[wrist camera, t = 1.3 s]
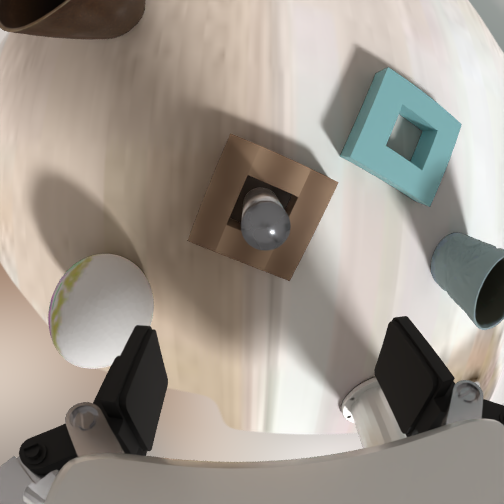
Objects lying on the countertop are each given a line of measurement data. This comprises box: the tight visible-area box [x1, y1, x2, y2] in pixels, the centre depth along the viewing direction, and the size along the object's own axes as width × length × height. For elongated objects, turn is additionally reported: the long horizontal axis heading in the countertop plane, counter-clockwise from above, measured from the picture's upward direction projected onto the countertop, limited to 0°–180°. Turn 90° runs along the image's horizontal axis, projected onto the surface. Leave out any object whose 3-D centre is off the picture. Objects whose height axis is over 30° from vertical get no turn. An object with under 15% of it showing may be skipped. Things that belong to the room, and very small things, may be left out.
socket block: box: [340, 67, 462, 207], centre depth 28 cm, size 12×12×4 cm
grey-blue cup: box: [431, 233, 504, 330], centre depth 30 cm, size 10×10×12 cm
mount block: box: [188, 134, 338, 281], centre depth 31 cm, size 12×12×4 cm
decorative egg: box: [49, 254, 154, 368], centre depth 29 cm, size 12×12×15 cm
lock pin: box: [241, 187, 291, 251], centre depth 28 cm, size 4×4×10 cm
